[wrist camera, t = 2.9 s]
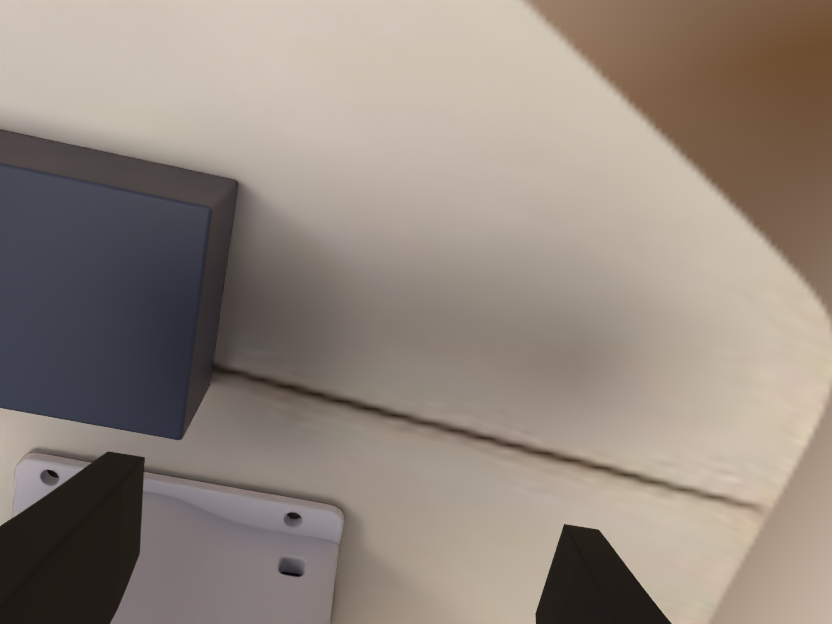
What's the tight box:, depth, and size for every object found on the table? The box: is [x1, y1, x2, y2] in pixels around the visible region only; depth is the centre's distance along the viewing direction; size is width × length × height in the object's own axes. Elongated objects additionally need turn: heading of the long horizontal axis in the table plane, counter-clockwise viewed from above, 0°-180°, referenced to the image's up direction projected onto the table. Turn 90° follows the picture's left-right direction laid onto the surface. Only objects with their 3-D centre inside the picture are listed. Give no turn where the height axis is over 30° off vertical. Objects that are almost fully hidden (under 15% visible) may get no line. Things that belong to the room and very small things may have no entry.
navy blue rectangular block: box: [0, 130, 238, 440], centre depth 19 cm, size 10×6×3 cm, turn 77°
